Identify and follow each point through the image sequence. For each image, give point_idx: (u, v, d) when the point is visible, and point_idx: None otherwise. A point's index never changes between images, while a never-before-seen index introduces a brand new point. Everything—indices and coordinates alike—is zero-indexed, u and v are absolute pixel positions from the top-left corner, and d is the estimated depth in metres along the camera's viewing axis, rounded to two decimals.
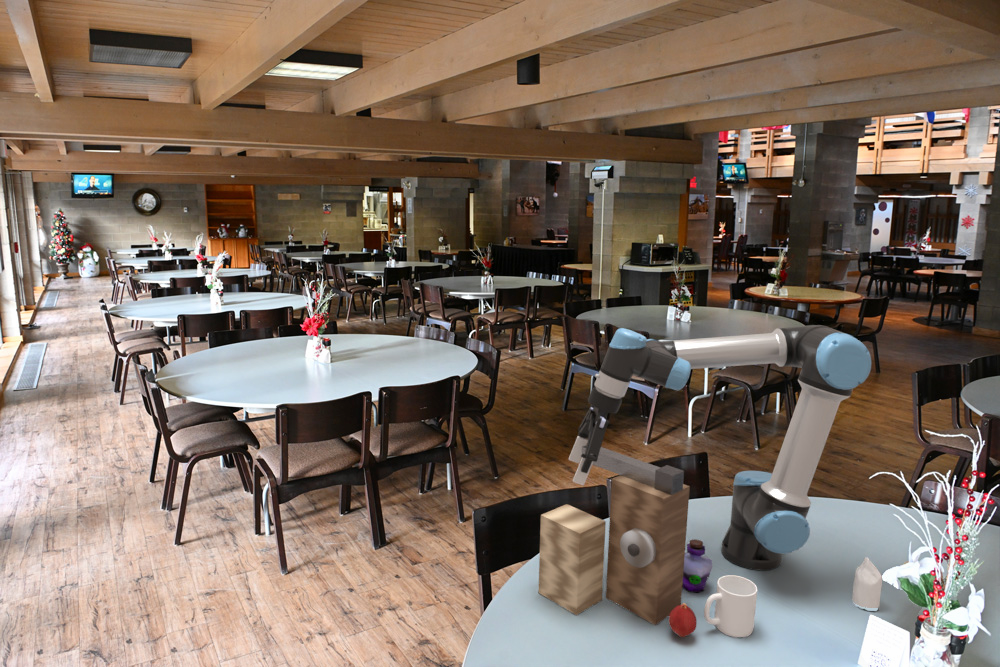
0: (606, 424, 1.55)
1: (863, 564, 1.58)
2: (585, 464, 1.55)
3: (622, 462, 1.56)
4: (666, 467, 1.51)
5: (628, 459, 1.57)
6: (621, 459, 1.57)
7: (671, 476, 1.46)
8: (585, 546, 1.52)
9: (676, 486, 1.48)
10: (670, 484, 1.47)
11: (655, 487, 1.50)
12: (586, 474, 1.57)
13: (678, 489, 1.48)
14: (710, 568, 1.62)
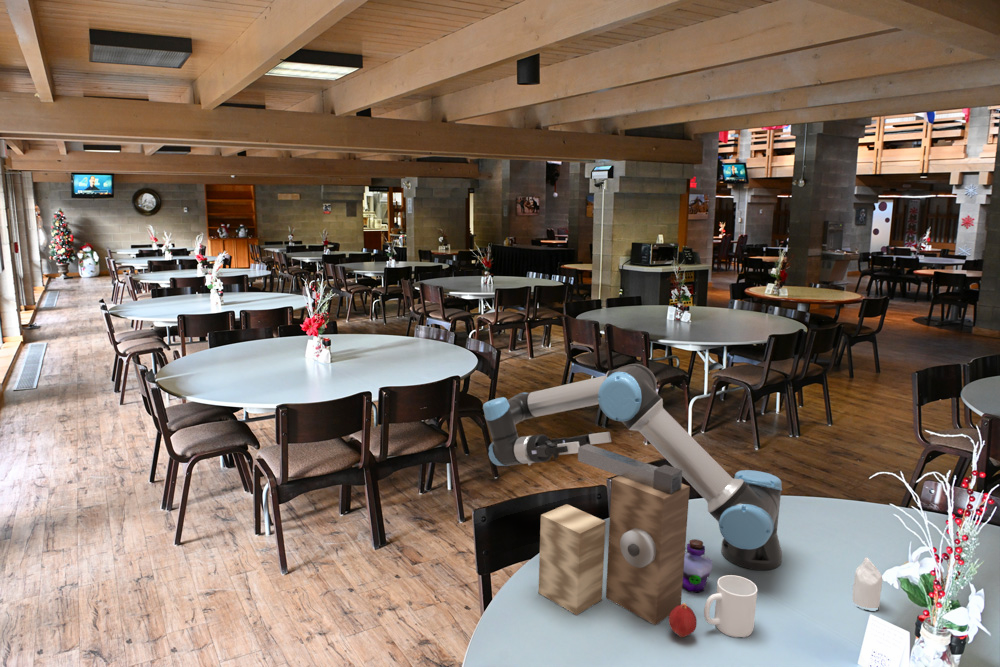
0: (532, 449, 1.81)
1: (863, 564, 1.58)
2: (559, 451, 1.73)
3: (620, 462, 1.56)
4: (664, 467, 1.51)
5: (626, 459, 1.57)
6: (619, 459, 1.57)
7: (670, 476, 1.46)
8: (585, 546, 1.52)
9: (675, 486, 1.48)
10: (669, 484, 1.47)
11: (654, 487, 1.50)
12: (568, 444, 1.72)
13: (677, 488, 1.49)
14: (710, 568, 1.62)
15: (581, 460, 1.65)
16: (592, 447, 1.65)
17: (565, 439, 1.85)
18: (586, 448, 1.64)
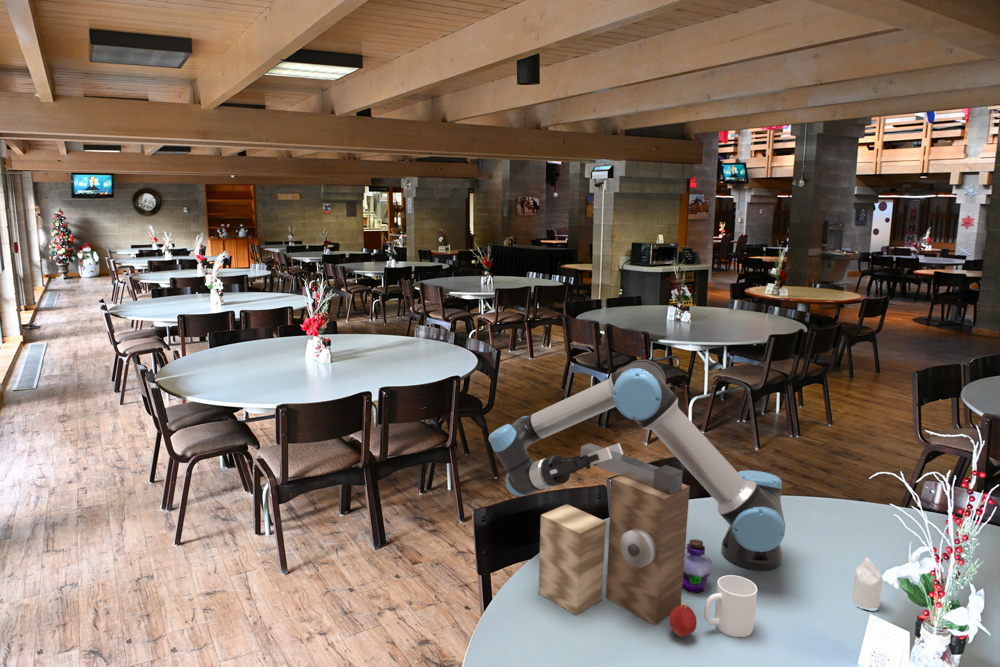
0: (551, 468, 1.67)
1: (863, 564, 1.58)
2: (589, 461, 1.61)
3: (621, 462, 1.56)
4: (665, 467, 1.51)
5: (627, 459, 1.58)
6: (620, 459, 1.57)
7: (670, 476, 1.46)
8: (585, 546, 1.52)
9: (675, 486, 1.48)
10: (669, 484, 1.47)
11: (654, 487, 1.50)
12: (598, 452, 1.60)
13: (677, 489, 1.49)
14: (710, 568, 1.62)
15: None
16: (595, 446, 1.65)
17: (577, 457, 1.71)
18: (588, 447, 1.65)
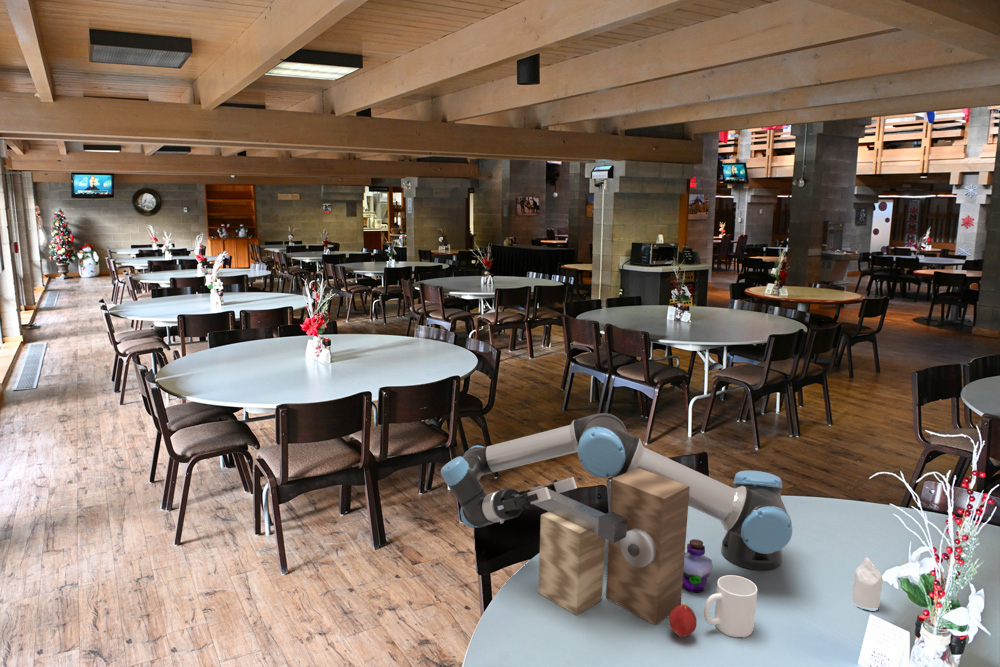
0: (498, 504, 1.66)
1: (863, 564, 1.58)
2: (529, 501, 1.59)
3: (568, 507, 1.55)
4: (610, 514, 1.50)
5: (574, 504, 1.57)
6: (567, 504, 1.56)
7: (613, 524, 1.45)
8: (585, 546, 1.52)
9: (619, 534, 1.47)
10: (612, 532, 1.46)
11: (598, 534, 1.49)
12: (537, 491, 1.58)
13: (621, 537, 1.48)
14: (710, 568, 1.62)
15: None
16: None
17: None
18: None
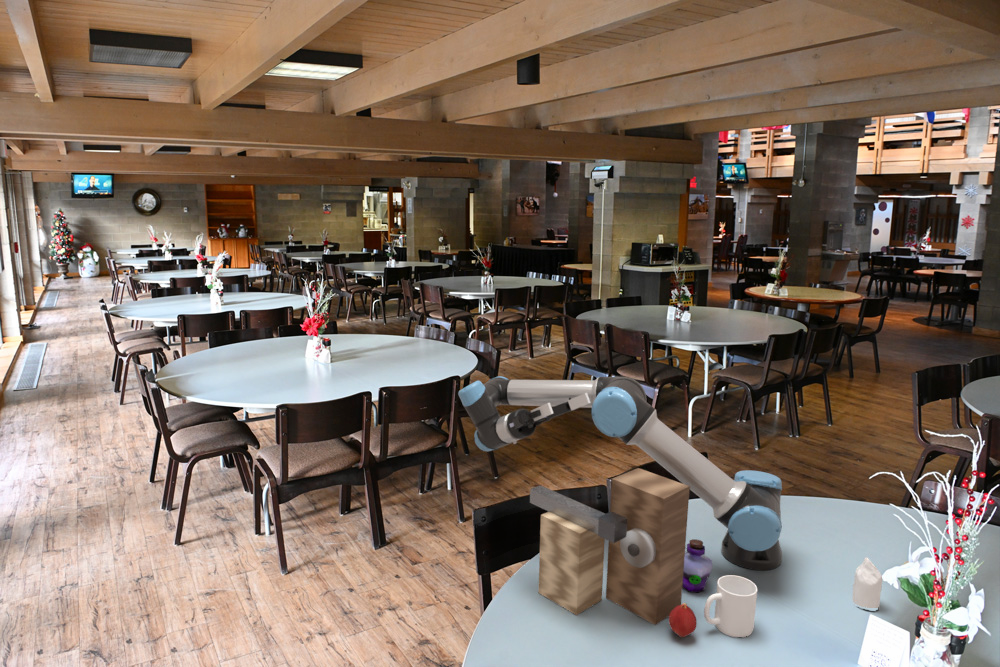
0: (509, 421, 1.73)
1: (863, 564, 1.58)
2: (532, 417, 1.64)
3: (568, 507, 1.55)
4: (610, 514, 1.50)
5: (574, 504, 1.57)
6: (567, 504, 1.56)
7: (613, 524, 1.45)
8: (585, 546, 1.52)
9: (619, 534, 1.47)
10: (612, 532, 1.46)
11: (598, 534, 1.49)
12: (540, 408, 1.64)
13: (621, 537, 1.48)
14: (710, 568, 1.62)
15: (533, 502, 1.64)
16: (544, 489, 1.64)
17: None
18: (538, 490, 1.64)
